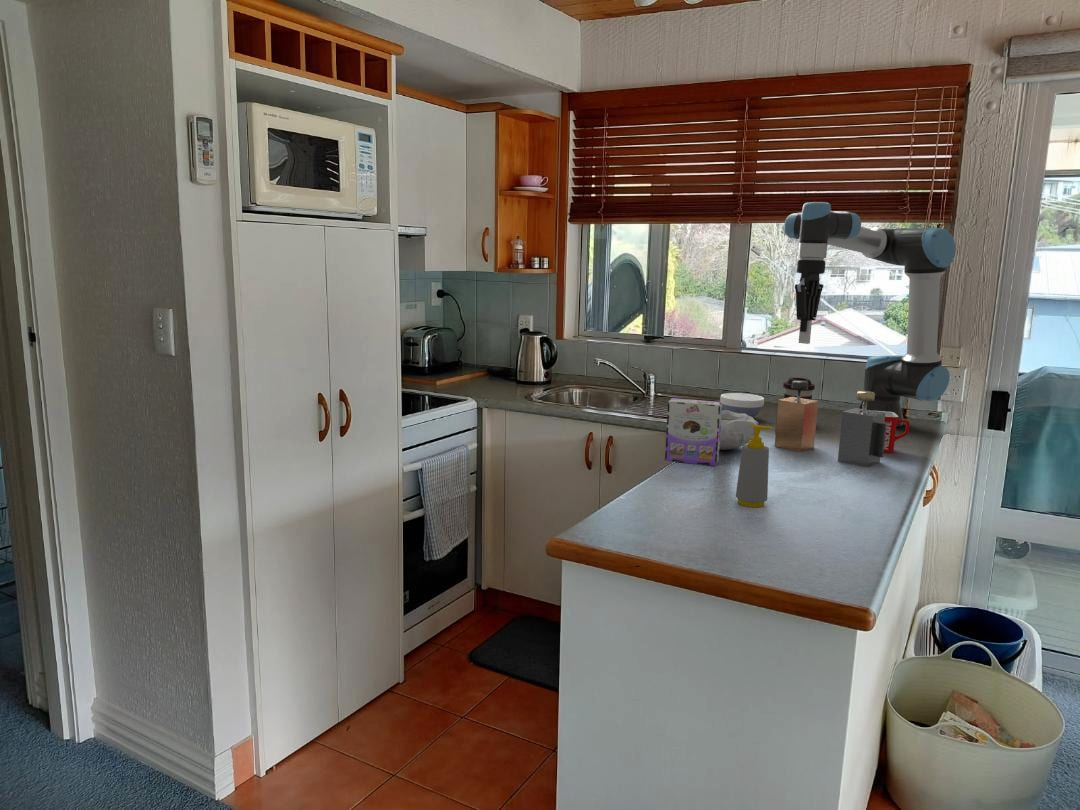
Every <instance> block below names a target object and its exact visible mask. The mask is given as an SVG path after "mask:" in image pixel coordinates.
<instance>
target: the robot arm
mask: <svg viewBox="0 0 1080 810" xmlns="http://www.w3.org/2000/svg"><path fill="white" fill-rule="evenodd" d="M783 225H784V226H783V229H784V234H785V235H786V236H787V238H789V239H796V240H799V241H798V242H799V243H798V244H799V245H798V247H797V250H798V255H797V257H798V258H799V259H798V260H797V263H796V273H798V274H800V279H799V283H798V284H797V283H796V284H795V285H794V290H795V303H796V304H795V306H796V307H795V308H796V312H795V313H796V314H795V315H796V320H797V321H798V320H799V321H800V322H799V335H798V343H799V344H806V345H810V344H811V333H812V324H813V323H812V322H813V321H816V320H817V315H818V311H819V305H820V302H821V301H820V300H821V297H822V295H821V294H822V292H823V288H824V284H823V283H822V284H821V283H820V279H821V278H820V275H823V274H825V272H826V262H827V261H825V259H826V258H827V251H828V245H829V246H832V247H837V248H840V249H845V250H849V251H853V252H857V253H861V254H862V255H863V256H864V257H866V258H867V259H871V260H876V261H879V262H882V263H884V264H889V265H894V266H903V267H904V274H905V276H907V277H908V279H909V281H908V282H909V283H908V284H909V285H908V287H909V288H908V308H907V309H908V312H907V313H908V317H907V341H906V342H907V345H906V353H905V354H904V355H897V354H896V355H873V356H869V357H868V358H867V360H866V365H865V368H864V370H865V371H864V372H865V373H864V382H863V391H869V392H874V393H875V398H874V401H867V408H866V410H871V411H886V412H893V413H895V414H896V415H898V419H902V420H904V415H903V410H902V406H901V397H902V398H907V399H908V398H909V399H914V400H917V401H920V402H921V401H922V402H923V401H925V402H935V401H937V400H938V399H939V398H941V397H942V396H943V395H944V393H945V392H946V390H947V389H948V387H949V383H950V376H951V375H950V371H949V369H948V368H947V367H946V366H945V365H943V364H942V363H943V362H942V361H943V358H942V357H941V356H940V354H939V353H938V333H939V331H938V329H939V311H940V310H939V309H940V308H939V307H940V285H941V284H940V283H941V277H942V276H943V275H944V274H945V273H946V271H947V267H949V266H950V265H951V264H952V263H953V261H954V259H955V257H956V250H957V249H956V242H955V239H954V236H953V235H952V234H951V233H950V232H949V230H947V229H944V228H940V227H914V228H913V227H911V228H910V227H909V228H907V227H900V228H881V227H872V228H867V227H863V226H862V220H861V217H860V216H859V215H858V213H855V212H850V211H836V210H835V211H834V210H833V211H832V205H831V203H829V202H825V201H824V202H823V201H819V202H818V201H813V202H805V203H803V206H802V210H801V211H800V212H796V213H791V214H789V215H788V216H787V217H786V219H785V221H784V224H783ZM860 401H861V400H860ZM858 408H859V409H862V408H863V401H861V402H860V404H859V405H858ZM903 426H904V422H901V423H898V424H897V426H896V428H897V427H898V428H900V427H903Z"/></svg>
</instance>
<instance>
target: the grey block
mask: <svg viewBox="0 0 1080 810" xmlns="http://www.w3.org/2000/svg"><path fill="white" fill-rule="evenodd" d="M884 421H885V413H884V412H878V411H871V410H866V413H862V409H859V407H854V408H851V409H847V410H844V411H842V415H841V426H840V434H839V435H840V436H839V445H838V453H837V454H838V456H837V462H842V463H846V464H849V465H856V466H859V467H865V468H870V467H872V466H874V465H876V464H880V462H881V458H883V457H884V453H883V452H884V443H885V434H886V425H887V424H884Z"/></svg>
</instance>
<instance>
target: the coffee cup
mask: <svg viewBox="0 0 1080 810" xmlns="http://www.w3.org/2000/svg"><path fill="white" fill-rule="evenodd" d="M792 381H806V382H808V389H807V390H801V398H803V399H810V400H813V391H814V390H815V384H814V383H812V381H811V379H809V378H804V377H788V380H787V381H784V382H783V384H782V385H783V386H782V387H783V388H784V393H783V399H784V398H789V397H797V391H798V390H796V389H792Z"/></svg>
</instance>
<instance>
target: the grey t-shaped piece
mask: <svg viewBox="0 0 1080 810" xmlns="http://www.w3.org/2000/svg"><path fill="white" fill-rule="evenodd" d="M792 389H796V390H798V391H797V401H800V398H801V390H807V389H808V382H806V381H792Z"/></svg>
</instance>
